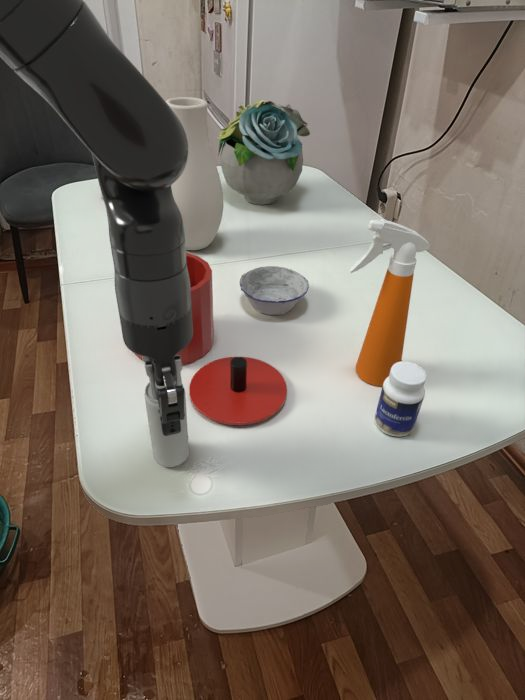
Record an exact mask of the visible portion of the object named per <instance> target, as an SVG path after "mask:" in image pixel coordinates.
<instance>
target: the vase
mask: <svg viewBox="0 0 525 700" xmlns="http://www.w3.org/2000/svg"><path fill="white" fill-rule="evenodd" d="M165 101H166V103H167V104H168V105H169V106H170V108H171V109H172V110H173V111H174V113H175V114H176V115H177V117H178V118H179V120H180V122H181V123H182V125H183V127H184V130H185V133H186V136H187V141H188V159H187V163H186V166H185V169H184V171H183V173H182V174H181V176H180V177H179V178H178V179H177V180H176V181H175V182H174V183H173V184H172V185H171V189H172V194H173V197H174V200H175V202H176V204H177V206H178V208H179V210H180V213H181V216H182V219H183V224H184V231H185V246H186V251H200V250H203V249H205V248H207V247H209V246H210V245H211V244H212V242H214V239H215V238H216V236H217V235H218V231H219V230H220V226H221V223H222V219H223V213H224V192H223V186H222V181H221V177H220V173H219V170H218V166H217V163H216V160H215V157H214V153H213V150H212V146H211V141H210V136H209V129H208V106H209V105H208V101H206V99H202V98H199V97H192V96H181V97H171V98H168V99H166V100H165Z"/></svg>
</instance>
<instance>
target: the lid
mask: <svg viewBox="0 0 525 700" xmlns="http://www.w3.org/2000/svg"><path fill="white" fill-rule="evenodd" d="M188 389H189V391H188V392H189V399H190V401H191V403H192V405H193V407H194V408H195V409H196V410H197V411H198V412H199V413H200V414H201V415H203V416H204V417H205V418H207V419H209V420H211V421H213V422H216V423H219V424H224V425H231V426H247V425H248V426H249V425H254V424H257V423H260V422H263V421H265V420H268V419H269V418H271V417H272V416H274V415H275V414H277V412H278V411H280V410H281V409H282V407H283V406H284V404H285V402H286V400H287V394H288V386H287V382H286V380H285V378H284V376H283V375H282V374H281V372H280V371H279V370H278V369H277V368H276V367H274V366H272V365H271V364H269V363H268V362H266V361H263V360H260V359H257V358H253V357H248V356H227V357H223V358H218V359H215V360H212V361H210V362H208V363H207V364H205V365H203V366H201V367H200V368H199V369H198V370H197V371H196V372H195V374H194V375H193V376H192V378H191V380H190V383H189V388H188Z"/></svg>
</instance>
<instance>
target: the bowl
mask: <svg viewBox="0 0 525 700" xmlns="http://www.w3.org/2000/svg"><path fill="white" fill-rule="evenodd" d="M239 287H240V291H241V292H243V294H244V295H245V297H246V298H247V300H248V302H249V303H250V305H251V306H252V307H253V308H254V310H255V311H257V312H259V313H261V314H264V315H268V316H279V315H280V316H281V315H285V314H287V313H289V312H291V310H292V309H294V307H295V306H296V305H297V303H299V301H300V300H301V299H302V298H304V296H305V295H306V294H307V293H308V291H309V288H310V284H309V280H308V279H307V278H306V277H305V276H304V275H302V274H301V273H299V272H297V271H295V270H293V269H292V268H291V269H290V268H287V267H283V266H274V265H268V266H260V267H255V268H253V269H250V270H249V271H247V272H246V273H243V274H242V275H241V276H240V279H239Z"/></svg>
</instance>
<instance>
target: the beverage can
mask: <svg viewBox="0 0 525 700" xmlns="http://www.w3.org/2000/svg"><path fill="white" fill-rule="evenodd" d="M175 384H176V378H175V381H174V385H175ZM155 385H156V382H155ZM182 387H183V388H184V389H185V387H184V384H183V383H182ZM156 388H158V389H161V388H165V386H159V385H156ZM143 396H144V402H145V410H146V416H147V423H148V430H149V436H150V443H151V450H152V457H153V459H154V461H155V463H157V464H158V465H160V466H162V467H166V468H176V467H178V466H181V465H182V464H183V463H185V462H186V461H187V460H188V458H189V455H190V443H189V442H190V441H189V431H188V416H187V415H188V414H187V412H188V411H187V398H186V392H185V393H184V413H185V416H184V420H180V423H181V432H180V433H178V434H173V435H168V436H164V435H163V432H162V427H161V421H160V414H158V410H159V408H158V402H157V400H155V399H154V398H153V396H152V393H151V387H150V381H149V382H148V383H147V385H146V386H145V389H144V395H143Z"/></svg>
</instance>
